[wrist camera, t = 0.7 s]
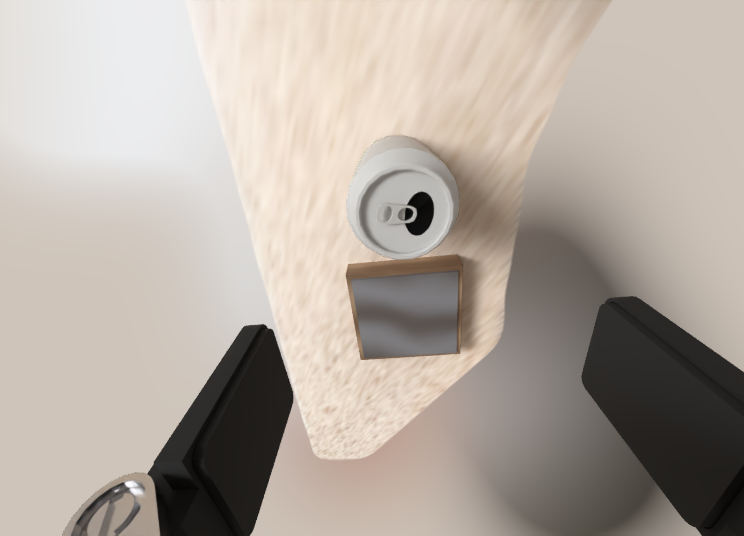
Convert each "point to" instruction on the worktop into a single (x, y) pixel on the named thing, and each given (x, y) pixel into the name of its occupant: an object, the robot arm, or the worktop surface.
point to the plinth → (407, 306)
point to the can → (401, 199)
